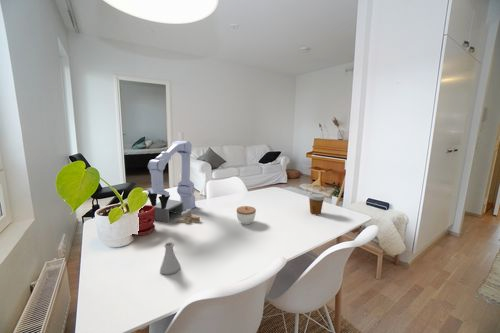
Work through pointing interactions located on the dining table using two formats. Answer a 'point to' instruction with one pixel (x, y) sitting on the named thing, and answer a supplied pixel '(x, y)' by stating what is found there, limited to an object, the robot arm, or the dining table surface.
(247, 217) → the lidded jar
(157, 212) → the grey slotted box
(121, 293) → the dining table surface
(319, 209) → the disposable coffee cup
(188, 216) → the tan t-shaped block
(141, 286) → the dining table surface
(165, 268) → the flask
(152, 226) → the plant pot
